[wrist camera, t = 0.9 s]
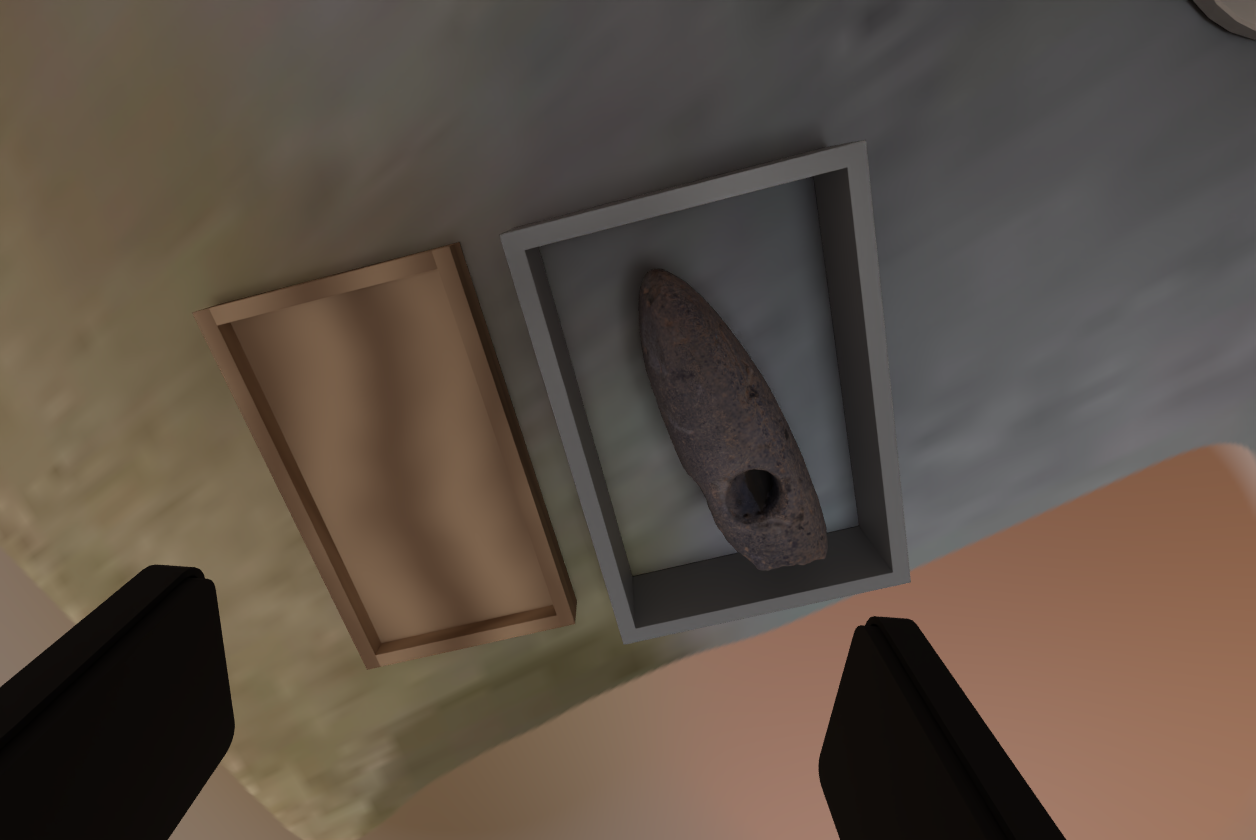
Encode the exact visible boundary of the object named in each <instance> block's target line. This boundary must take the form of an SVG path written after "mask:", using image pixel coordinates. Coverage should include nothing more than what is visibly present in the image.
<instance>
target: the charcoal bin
mask: <svg viewBox="0 0 1256 840" xmlns="http://www.w3.org/2000/svg"><path fill="white" fill-rule="evenodd" d="M811 176H813V177H814V184H815V192H816V199H817V207H818V215H819V222H820V230H821V238H822V245H823V253H824V261H825V268H826V276H827V283H828V291H829V299H830V306H831V314H832V322H833V329H834V337H835V345H836V352H837V360H838V367H839V375H840V383H841V390H842V398H843V406H844V413H845V421H846V429H847V436H848V444H849V451H850V459H851V467H852V474H853V482H854V490H855V497H856V505H857V513H858V520H859V526H857V527H853V528H848V529H844V530H839V531H835V532H831V533H826V536H827V541H828V546H827V547H828V548H827V552H826V557H825V559H821V560H820V559H819V560H814V561H812V562H810V563H807V564H806V565H798V564H795V565H793V566H781V567H779V568H774V569H771V570H769V571H767V570H764V571H762V570H759V569H757V568H756V566H755V565H754V564H753V563H752V562H751V561H749V560H748V559H747V558H746V557H745V556H743V555H742V554H741V553H737V554H732V555H728V556H723V557H719V558H714V559H710V560H705V561H701V562H696V563H692V564H687V565H683V566H678V567H674V568H669V569H665V570H660V571H656V572H651V573H647V574H643V575H638V576H634V577H632V573H631V570H630V566H629V563H628V559H627V556H626V552H625V549H624V545H623V542H622V538H621V535H620V531H619V528H618V524H617V521H616V517H615V514H614V510H613V507H612V503H611V500H610V496H609V493H608V489H607V486H606V482H605V479H604V475H603V471H602V468H601V464H600V461H599V457H598V454H597V450H596V447H595V443H594V440H593V436H592V433H591V429H590V426H589V422H588V419H587V415H586V412H585V408H584V405H583V401H582V398H581V394H580V391H579V387H578V384H577V380H576V377H575V373H574V370H573V366H572V363H571V359H570V356H569V352H568V349H567V345H566V342H565V338H564V335H563V331H562V328H561V324H560V321H559V317H558V314H557V310H556V307H555V303H554V300H553V296H552V293H551V289H550V286H549V282H548V279H547V275H546V272H545V268H544V265H543V261H542V258H541V254H540V251H539V246H543V245H547V244H551V243H555V242H558V241H562V240H566V239H570V238H574V237H578V236H582V235H586V234H590V233H594V232H597V231H601V230H605V229H609V228H613V227H617V226H621V225H625V224H629V223H632V222H636V221H640V220H644V219H648V218H652V217H656V216H660V215H664V214H667V213H671V212H675V211H679V210H683V209H687V208H691V207H695V206H699V205H702V204H706V203H710V202H714V201H718V200H722V199H726V198H730V197H734V196H738V195H741V194H745V193H749V192H753V191H757V190H761V189H765V188H769V187H773V186H776V185H780V184H784V183H788V182H792V181H796V180H800V179H804V178H808V177H811ZM499 236H500V239H501V243H502V246H503V249H504V253H505V256H506V259H507V262H508V266H509V269H510V272H511V276H512V279H513V282H514V285H515V289H516V292H517V295H518V299H519V302H520V305H521V308H522V312H523V315H524V318H525V322H526V325H527V328H528V331H529V335H530V338H531V341H532V345H533V348H534V351H535V354H536V358H537V361H538V364H539V368H540V371H541V374H542V377H543V381H544V384H545V387H546V391H547V394H548V397H549V400H550V404H551V407H552V410H553V413H554V417H555V420H556V423H557V427H558V430H559V433H560V436H561V440H562V443H563V446H564V450H565V453H566V456H567V459H568V463H569V466H570V469H571V473H572V476H573V479H574V482H575V486H576V489H577V492H578V496H579V499H580V502H581V505H582V509H583V512H584V515H585V519H586V522H587V525H588V528H589V532H590V535H591V538H592V542H593V545H594V548H595V551H596V555H597V558H598V561H599V565H600V568H601V571H602V574H603V578H604V581H605V584H606V588H607V591H608V594H609V597H610V601H611V604H612V607H613V611H614V614H615V617H616V620H617V624H618V627H619V630H620V634H621V637H622V640H623V643H624V644H629V643H633V642H638V641H643V640H647V639H652V638H656V637H661V636H666V635H670V634H675V633H680V632H684V631H689V630H693V629H698V628H703V627H707V626H712V625H716V624H721V623H726V622H730V621H735V620H739V619H744V618H749V617H753V616H758V615H762V614H767V613H772V612H776V611H781V610H785V609H790V608H795V607H799V606H804V605H808V604H813V603H818V602H822V601H827V600H831V599H836V598H841V597H845V596H850V595H854V594H859V593H864V592H868V591H873V590H877V589H882V588H887V587H891V586H896V585H900V584H905V583H909V582H911V580H910V570H909V560H908V550H907V540H906V531H905V521H904V511H903V501H902V491H901V481H900V472H899V462H898V452H897V442H896V432H895V423H894V413H893V403H892V393H891V383H890V373H889V364H888V354H887V344H886V334H885V324H884V314H883V305H882V295H881V285H880V275H879V265H878V255H877V246H876V236H875V226H874V216H873V206H872V196H871V187H870V177H869V167H868V157H867V147H866V140H863V141H857V142H851V143H846V144H840V145H834V146H829V147H824V148H821V149H817V150H813V151H809V152H805V153H801V154H797V155H794V156H790V157H786V158H782V159H778V160H774V161H770V162H767V163H763V164H759V165H755V166H751V167H747V168H743V169H740V170H736V171H732V172H728V173H724V174H720V175H716V176H713V177H709V178H705V179H701V180H697V181H693V182H689V183H686V184H682V185H678V186H674V187H670V188H666V189H662V190H659V191H655V192H651V193H647V194H643V195H639V196H635V197H632V198H628V199H624V200H620V201H616V202H612V203H608V204H605V205H601V206H597V207H593V208H589V209H585V210H581V211H578V212H574V213H570V214H566V215H562V216H558V217H554V218H551V219H547V220H543V221H539V222H535V223H531V224H527V225H524V226H520V227H516V228H513V229H511V230H509V231H507V232H505V233H502V234H500V235H499Z"/></svg>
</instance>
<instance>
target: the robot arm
mask: <svg viewBox="0 0 1256 840" xmlns="http://www.w3.org/2000/svg"><path fill="white" fill-rule="evenodd" d="M1193 1H1194V2H1195V3H1196V4H1197V6H1198V7H1199V8H1200V9H1201V10H1202V11H1203V12H1204V13H1205V14H1206V16H1207V17H1208V18H1209V19H1211V20H1212V21H1214V22H1215V23H1217V24H1219V25H1220V26H1222V27H1223V28H1225V29H1226V30H1228V31H1229V32H1232V33H1235V34H1238V35H1241V36H1244V37H1247V38H1251V39H1254V40H1256V0H1193ZM234 729H235V721H234V714H233V707H232V700H231V693H230V686H229V679H228V672H227V665H226V658H225V651H224V644H223V637H222V630H221V623H220V616H219V609H218V602H217V595H216V589H215V585H214V583H213V582H212V580H209V579H205V577H204V574H203V572H202V571H201V570H200V569H198V568H195V567H183V566H169V565H151V566H148V567H147V568H145V569H143V570H142V571H141V572H140V573H138V574H137V575H136V576H135V577H133V578H132V579H131V580H130V581H129V582H127V583H126V584H125V585H124V586H123V587H121V588H120V589H119V590H118V591H116V592H115V593H114V594H113V595H112V596H110V597H109V598H108V599H107V600H106V601H104V602H103V603H102V604H101V605H99V606H98V607H97V608H96V609H95V610H93V611H92V612H91V613H90V614H89V615H87V616H86V617H85V618H84V619H83V620H81V621H80V622H79V623H78V624H76V625H75V626H74V627H73V628H72V629H70V630H69V631H68V632H67V633H66V634H64V635H63V636H62V637H61V638H60V639H58V640H57V641H56V642H55V643H53V644H52V645H51V646H50V647H49V648H47V649H46V650H45V651H44V652H43V653H41V654H40V655H39V656H38V657H36V658H35V659H34V660H33V661H32V662H30V663H29V664H28V665H27V666H26V667H25V668H23V669H22V670H21V671H19V672H18V673H17V674H16V675H15V676H13V677H12V678H11V679H10V680H9V681H7V682H6V683H5V684H4V685H2V686H1V687H0V840H168V838H169V837H170V835H171V834H172V833H173V831H174V830H175V828H176V827H177V825H178V824H179V822H180V821H181V819H182V818H183V816H184V815H185V813H186V812H187V810H188V809H189V807H190V806H191V804H192V803H193V801H194V800H195V799H196V797H197V796H198V794H199V793H200V791H201V790H202V788H203V787H204V785H205V784H206V782H207V781H208V779H209V778H210V776H211V775H212V773H213V772H214V770H215V769H216V767H217V766H218V765H219V763H220V762H221V760H222V759H223V757H224V756H225V754H226V752H227V751H228V749H229V747H230V744H231V742H232V739H233V735H234ZM819 778H820V783H821V786H822V789H823V792H824V795H825V798H826V801H827V804H828V806H829V809H830V812H831V815H832V818H833V821H834V824H835V826H836V829H837V832H838V835H839V838H840V840H1066V839H1065V837H1064V836H1063V834H1062V833H1061V832H1060V830H1059V829H1058V827H1057V826H1056V825H1055V823H1054V821H1053V820H1052V819H1051V817H1050V816H1049V814H1048V813H1047V811H1046V810H1045V809H1044V807H1043V806H1042V804H1041V803H1040V801H1039V800H1038V798H1037V797H1036V795H1035V794H1034V793H1033V791H1032V790H1031V788H1030V787H1029V785H1028V784H1027V783H1026V781H1025V780H1024V778H1023V777H1022V776H1021V774H1020V772H1019V771H1018V770H1017V768H1016V767H1015V765H1014V764H1013V762H1012V761H1011V760H1010V758H1009V757H1008V755H1007V754H1006V752H1005V751H1004V749H1003V748H1002V747H1001V745H1000V744H999V742H998V741H997V739H996V738H995V736H994V735H993V734H992V732H991V731H990V729H989V728H988V727H987V725H986V724H985V722H984V721H983V719H982V718H981V716H980V715H979V714H978V712H977V711H976V709H975V708H974V706H973V705H972V703H971V702H970V701H969V699H968V698H967V696H966V695H965V693H964V692H963V690H962V689H961V688H960V686H959V685H958V683H957V682H956V680H955V679H954V677H953V676H952V675H951V673H950V672H949V670H948V669H947V668H946V666H945V665H944V663H943V662H942V660H941V659H940V657H939V656H938V654H937V653H936V652H935V650H934V649H933V647H932V646H931V644H930V643H929V642H928V640H927V639H926V638H925V636H924V634H923V633H922V632H921V630H920V629H919V627H918V626H917V624H916V623H915V622H914V621H913V620H910V619H904V618H890V617H876V616H874V617H870V618H869V620H868V621H867V623H866V625H865V626H862V625H860V626H858V627H857V628H856V630H855V632H854V635H853V638H852V642H851V646H850V649H849V653H848V657H847V660H846V663H845V667H844V671H843V674H842V678H841V681H840V685H839V689H838V693H837V696H836V699H835V703H834V707H833V710H832V714H831V717H830V721H829V725H828V729H827V732H826V736H825V739H824V743H823V746H822V750H821V753H820V758H819Z"/></svg>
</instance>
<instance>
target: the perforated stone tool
mask: <svg viewBox="0 0 1256 840" xmlns="http://www.w3.org/2000/svg"><path fill="white" fill-rule="evenodd" d="M638 311H639V327H640V337H641V344H642V350H643V356H644V362H645V366H646V371H647V374H648V377H649V380H650V383H651V386H652V389H653V392H654V395H655V396H656V400H657V403H658V406H659V409H660V412H661V415H662V418H663V420H664V423H665V425H666V428H667V430H668V433H669V435H670V438H671V440H672V443H673V445H674V448H675V450H676V452H677V455H678V457H679V459H680V461H681V463H682V465H683V467H684V469H685V470H686V472H687V473H688V475H690V476H691V477H692V478H693V479H694V480H695V482H696V483H697V484H698V485H699V486H700V488H701V489H702V492H703V493H704V495H705V497H706V499H707V503H708V507H709V509H710V511H711V513H712V516H713V518H714V521H715V523H716V525H717V527H718V528H719V529H720V531H721V532H722V533H723V535H724V536H725V538H726V540H727V541H728V542H729V543H730V544H731V545H732V546H733V547H734V548H735V549H736V550H737V552H739V553H741V554H742V555H743V556H745V557H746V558H747V559H748V560H749V561H751V562H752V563H753V564H754V565H755V566H756V568H757V569H759V570H762V571H764V570H767V571H769V570H771V569H774V568H779V567H781V566H793V565H795V564H798V565H806V564H807V563H810V562H812V561H814V560H819V559H820V560H821V559H825V557H826V552H827V548H828V547H827V546H828V541H827V536H826V531H827V529H826V525H825V521H824V517H823V513H822V510H821V507H820V503H819V499H818V496H817V494H816V491H815V489H814V486H813V484H812V481H811V478H810V475H809V473H808V470H807V467H806V465H805V462H804V459H803V457H802V455H801V452H800V450H799V448H798V445H797V443H796V441H795V439H794V437H793V434H792V432H791V430H790V428H789V426H788V423H787V421H786V419H785V417H784V415H783V413H782V411H781V409H780V408H779V406H778V404H777V401H776V399H775V397H774V396H773V394H772V392H771V390H770V388H769V387H768V385H767V383H766V381H765V380H764V378H763V376H762V375H761V373H760V372H759V370H758V369H757V367H756V366H755V364H754V363H753V362H752V360H751V358H750V357H749V355H748V353H747V352H746V351H745V349H744V348H743V346H742V345H741V344H740V342H739V341H738V339H737V338H736V337H735V336H734V334H733V333H732V331H731V330H730V329H729V328H728V326H727V325H726V324H725V322H724V321H723V320H722V319H721V317H720V316H719V315H718V314H717V313H716V312H715V310H714V309H713V308H712V307H711V306H710V305H709V304H708V303H707V302H706V301H705V299H704V298H703V297H702V296H700V295H699V294H698V293H697V292H696V291H695V290H694V289H693V288H692V287H690V286H689V285H688V284H687V283H686V282H684V281H683V280H681V279H680V278H678V277H677V276H675V275H673V274H671V273H669V272H667V271H664V270H663V269H654V270H653V269H652V270H650V271H649V272H647V274H646V275H645V277H644V280H643V282H642V284H641V287H640V293H639V307H638Z"/></svg>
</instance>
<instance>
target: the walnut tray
mask: <svg viewBox="0 0 1256 840" xmlns="http://www.w3.org/2000/svg"><path fill="white" fill-rule="evenodd" d="M192 314H193V316H194V318H195V320H196V322H197V324H198V326H199V328H200V330H201V332H202V334H203V336H204V338H205V340H206V342H207V344H208V346H209V348H210V350H211V352H212V354H213V356H214V358H215V360H216V362H217V364H218V367H219V369H220V371H221V373H222V375H223V377H224V379H225V381H226V383H227V385H228V387H229V389H230V391H231V393H232V395H233V397H234V399H235V401H236V403H237V405H238V407H239V409H240V411H241V413H242V415H243V418H244V420H245V422H246V424H247V426H248V428H249V430H250V432H251V434H252V436H253V438H254V440H255V442H256V444H257V446H258V448H259V450H260V452H261V454H262V456H263V458H264V460H265V462H266V464H267V466H268V468H269V471H270V473H271V475H272V477H273V479H274V481H275V483H276V485H277V487H278V489H279V491H280V493H281V495H282V497H283V499H284V501H285V503H286V505H287V507H288V509H289V511H290V513H291V515H292V517H293V519H294V521H295V524H296V526H297V528H298V530H299V532H300V534H301V536H302V538H303V540H304V542H305V544H306V546H307V548H308V550H309V552H310V554H311V556H312V558H313V560H314V562H315V564H316V566H317V568H318V570H319V572H320V574H321V577H322V579H323V581H324V583H325V585H326V587H327V589H328V591H329V593H330V595H331V597H332V599H333V601H334V603H335V605H336V607H337V609H338V611H339V613H340V615H341V617H342V619H343V621H344V623H345V625H346V628H347V630H348V632H349V634H350V636H351V638H352V640H353V642H354V644H355V646H356V648H357V650H358V652H359V654H360V656H361V658H362V660H363V662H364V664H365V666H366V668H367V670H368V669H372V668H377V667H381V666H386V665H391V664H395V663H400V662H404V661H409V660H413V659H418V658H422V657H427V656H431V655H436V654H440V653H445V652H450V651H454V650H459V649H463V648H468V647H472V646H477V645H481V644H486V643H490V642H495V641H500V640H504V639H509V638H513V637H518V636H522V635H527V634H531V633H536V632H540V631H545V630H550V629H554V628H559V627H563V626H568V625H572V624H575V617H576V605H577V600H576V597H575V594H574V591H573V588H572V585H571V582H570V579H569V576H568V573H567V570H566V567H565V564H564V561H563V558H562V555H561V552H560V549H559V545H558V542H557V539H556V536H555V533H554V530H553V527H552V524H551V521H550V518H549V515H548V512H547V509H546V506H545V503H544V500H543V497H542V494H541V490H540V487H539V484H538V481H537V478H536V475H535V472H534V469H533V466H532V463H531V460H530V457H529V454H528V451H527V448H526V445H525V442H524V439H523V435H522V432H521V429H520V426H519V423H518V420H517V417H516V414H515V411H514V408H513V405H512V402H511V399H510V396H509V393H508V390H507V387H506V384H505V380H504V377H503V374H502V371H501V368H500V365H499V362H498V359H497V356H496V353H495V350H494V347H493V344H492V341H491V338H490V335H489V332H488V329H487V325H486V322H485V319H484V316H483V313H482V310H481V307H480V304H479V301H478V298H477V295H476V292H475V289H474V286H473V283H472V280H471V277H470V274H469V270H468V267H467V264H466V261H465V258H464V255H463V252H462V249H461V246H460V243H459V242H458V243H454V244H450V245H446V246H443V247H439V248H435V249H431V250H427V251H423V252H419V253H416V254H412V255H408V256H404V257H400V258H396V259H392V260H389V261H385V262H381V263H377V264H373V265H369V266H366V267H362V268H358V269H354V270H350V271H346V272H342V273H339V274H335V275H331V276H327V277H323V278H319V279H315V280H312V281H308V282H304V283H300V284H296V285H292V286H288V287H285V288H281V289H277V290H273V291H269V292H265V293H261V294H258V295H254V296H250V297H246V298H242V299H238V300H234V301H231V302H227V303H223V304H219V305H216V306H212V307H209V308H206V309H203V310H199V311H196V312H193V313H192Z"/></svg>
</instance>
